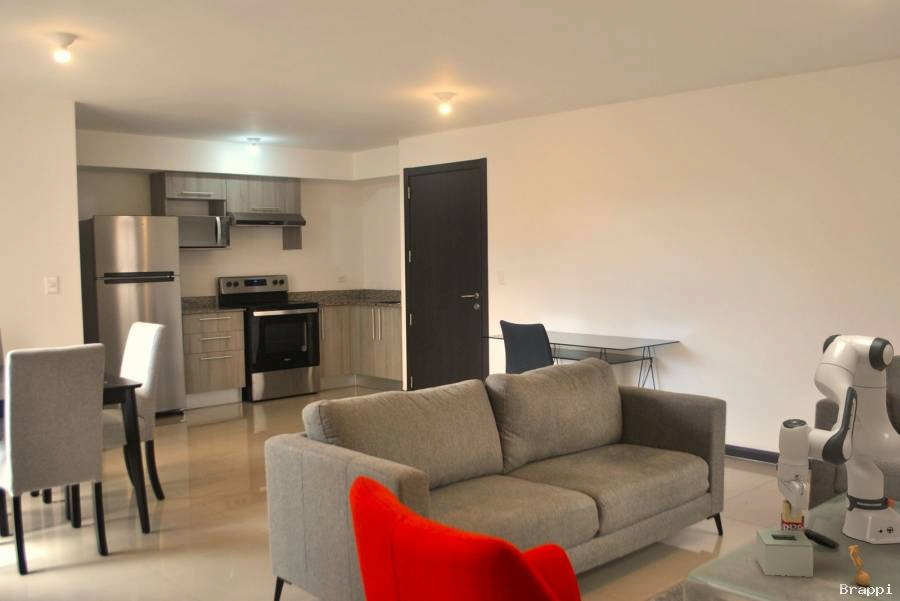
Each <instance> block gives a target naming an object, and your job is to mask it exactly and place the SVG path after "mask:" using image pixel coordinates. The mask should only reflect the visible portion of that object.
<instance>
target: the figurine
mask: <svg viewBox="0 0 900 601" xmlns="http://www.w3.org/2000/svg"><path fill="white" fill-rule="evenodd" d="M858 549H859V545H858V544H854V545H849V546H848V549H847V550H848V552H849V555H850V559H851V560H852V562H853V565H854V566H856V570H857V571H858V572H857V573H856V574H855V576H854V577H855V582H856V583H857V584H859V585H860V586H864V587H865V586H867V585H869V584H870V582H871V577H870V575H869V574H868V573H867V572H865V571H864V570H863V569H862V568H861V567H862V565H863V564H864V562H863V560H861V558H862V557H863V555H862V553H860V551H859V550H858ZM858 554H859V556H860V557H861V558H860V557H859V556H858Z"/></svg>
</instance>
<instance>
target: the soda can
mask: <svg viewBox="0 0 900 601" xmlns="http://www.w3.org/2000/svg"><path fill="white" fill-rule="evenodd" d="M780 531H802V532H803V533H804V534H805V515H804V514H803V513H802V523H798V522H785V521H784V520H783V519H782V512H781V513H780Z"/></svg>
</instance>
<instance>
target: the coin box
mask: <svg viewBox="0 0 900 601" xmlns="http://www.w3.org/2000/svg"><path fill="white" fill-rule="evenodd" d="M756 561H757V563H758V565H759V567H760V568H761V570H762V572H763V574H764V575H765V576H775V575H781V576H780V577H782V576H783V577H802V576H805V577H806V578H812V577H814V545H813V543H812V542H811V540H809V538H808V537H807V536H806V534H805V532H804V533H803V532H802V531H781V530H776V529H775V530H774V529H773V530H771V529H768V530H767V529H766V530H765V529H756ZM785 575H787V576H785ZM805 577H804V578H805Z"/></svg>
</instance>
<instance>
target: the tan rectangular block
mask: <svg viewBox="0 0 900 601" xmlns="http://www.w3.org/2000/svg"><path fill="white" fill-rule="evenodd" d="M791 508H792V507H791V504H790V503H789V501H788V500H784V499H783V500H782V511H781V513H782V519H783V520H784V521H785V522H798V523H802V514H803V510H799V511H798V517H797V518H793V517H791V515H790V514H791V513H790V511H791Z"/></svg>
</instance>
